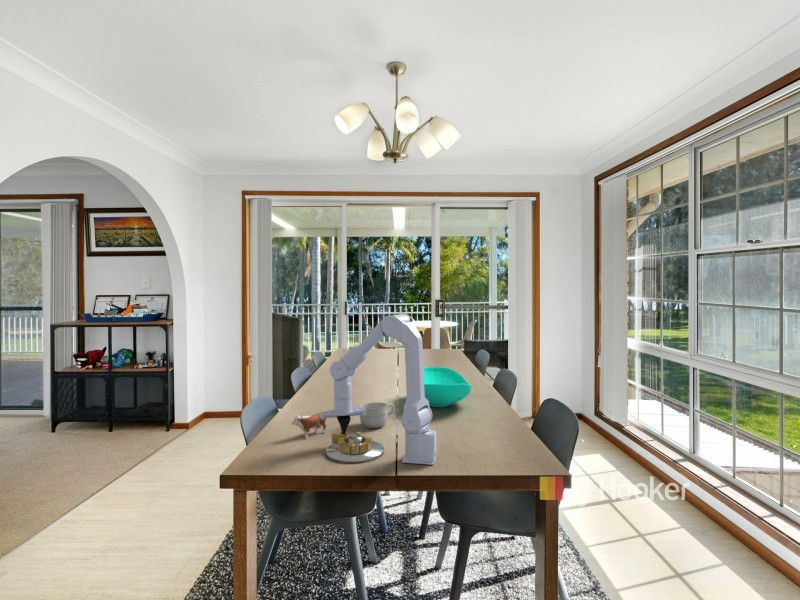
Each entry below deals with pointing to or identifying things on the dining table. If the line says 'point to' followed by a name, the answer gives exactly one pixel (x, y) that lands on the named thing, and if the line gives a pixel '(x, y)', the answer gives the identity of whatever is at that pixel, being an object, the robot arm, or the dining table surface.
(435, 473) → the dining table surface
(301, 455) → the dining table surface
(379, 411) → the teacup
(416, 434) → the robot arm
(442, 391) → the table top decor
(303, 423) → the bull figurine
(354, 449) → the ring nut
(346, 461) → the flange
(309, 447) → the dining table surface
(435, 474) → the dining table surface
